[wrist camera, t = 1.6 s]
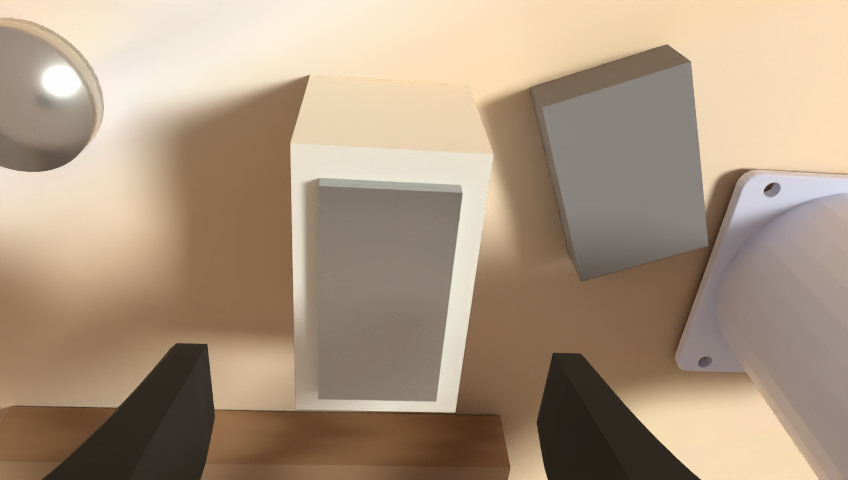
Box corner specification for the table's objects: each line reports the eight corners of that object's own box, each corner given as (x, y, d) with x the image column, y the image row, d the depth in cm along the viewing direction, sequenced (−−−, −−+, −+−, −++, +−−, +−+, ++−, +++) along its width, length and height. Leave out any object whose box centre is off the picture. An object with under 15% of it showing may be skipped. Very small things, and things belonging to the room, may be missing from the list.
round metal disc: (95, 21, 18) (77, 32, 17) (117, 158, 20) (102, 175, 19) (-64, 10, 18) (-91, 21, 17) (-25, 150, 20) (-47, 168, 19)
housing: (468, 83, 19) (496, 162, 15) (441, 307, 23) (456, 422, 19) (310, 73, 19) (287, 150, 14) (311, 302, 23) (294, 420, 18)
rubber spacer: (662, 41, 19) (690, 61, 17) (683, 214, 22) (708, 245, 21) (527, 83, 20) (542, 108, 18) (565, 247, 23) (581, 281, 21)
